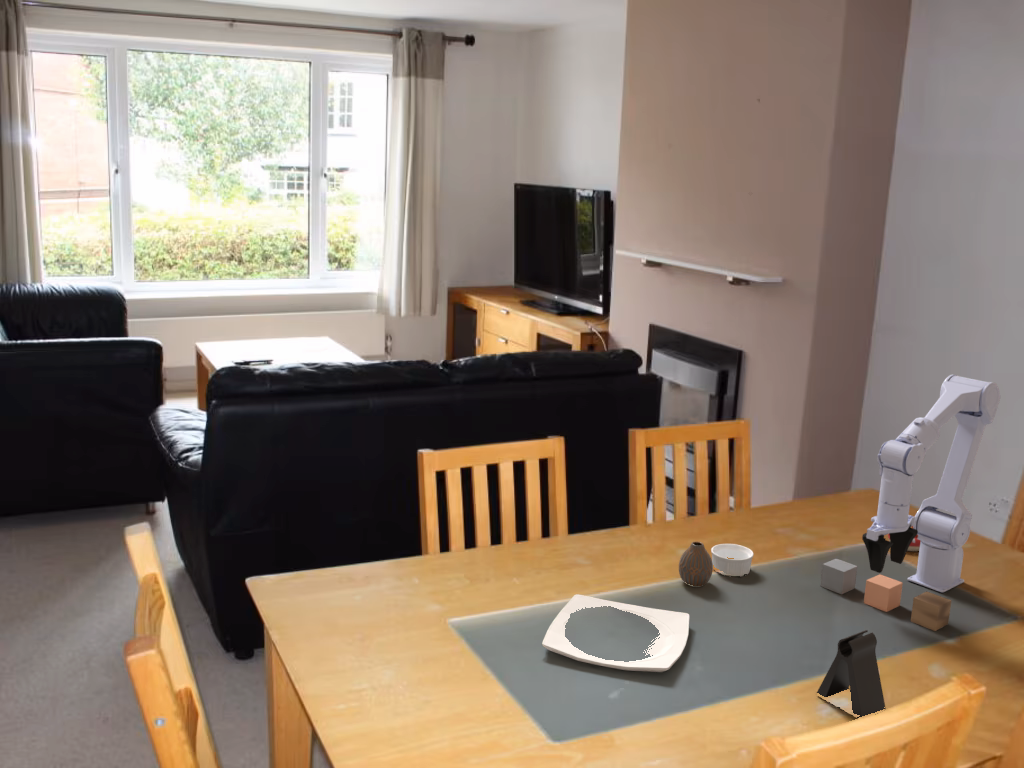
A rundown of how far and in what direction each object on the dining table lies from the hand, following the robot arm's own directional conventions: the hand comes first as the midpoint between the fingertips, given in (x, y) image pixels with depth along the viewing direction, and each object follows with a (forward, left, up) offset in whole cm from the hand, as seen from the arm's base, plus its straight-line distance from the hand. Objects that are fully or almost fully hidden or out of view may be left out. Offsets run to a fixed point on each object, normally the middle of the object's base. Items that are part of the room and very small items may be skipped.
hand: (886, 566), depth 196 cm
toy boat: (-35, -12, -9) cm, 38 cm away
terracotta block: (0, 0, -8) cm, 8 cm away
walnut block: (0, +10, -8) cm, 13 cm away
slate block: (0, -10, -8) cm, 13 cm away
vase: (+23, -29, -8) cm, 38 cm away
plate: (+54, -21, -9) cm, 59 cm away
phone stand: (+39, +17, -8) cm, 43 cm away
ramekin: (+11, -29, -8) cm, 32 cm away
